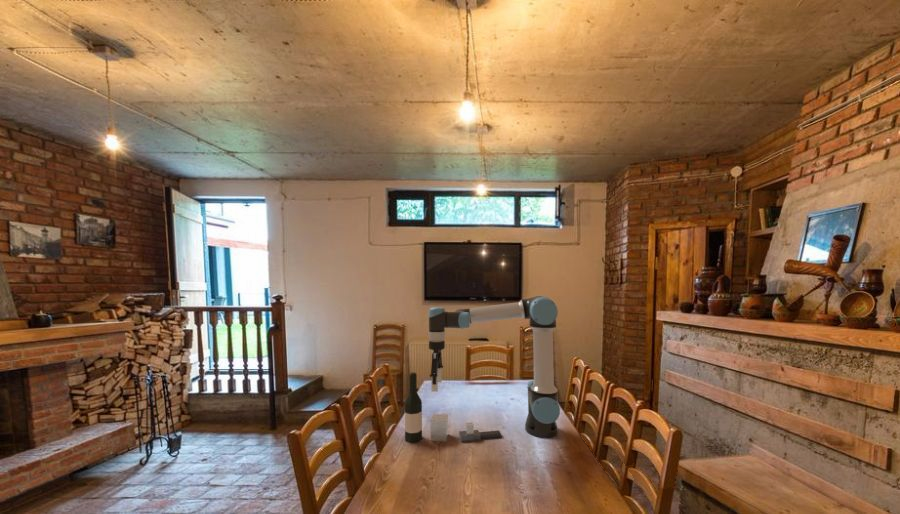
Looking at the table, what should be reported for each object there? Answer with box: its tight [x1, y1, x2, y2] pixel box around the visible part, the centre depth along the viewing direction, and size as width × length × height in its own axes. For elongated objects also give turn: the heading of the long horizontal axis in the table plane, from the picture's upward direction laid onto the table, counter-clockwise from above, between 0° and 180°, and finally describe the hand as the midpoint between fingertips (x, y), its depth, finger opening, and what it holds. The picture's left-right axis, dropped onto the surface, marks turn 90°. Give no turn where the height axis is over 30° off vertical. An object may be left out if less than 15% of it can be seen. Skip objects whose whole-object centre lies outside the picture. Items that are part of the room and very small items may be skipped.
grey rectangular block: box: [430, 413, 449, 442], centre depth 152 cm, size 7×7×9 cm
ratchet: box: [458, 421, 502, 443], centre depth 151 cm, size 19×5×6 cm, turn 99°
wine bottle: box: [404, 371, 423, 444], centre depth 152 cm, size 8×8×30 cm
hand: (436, 386), depth 153 cm, fingers open, 13 cm apart
